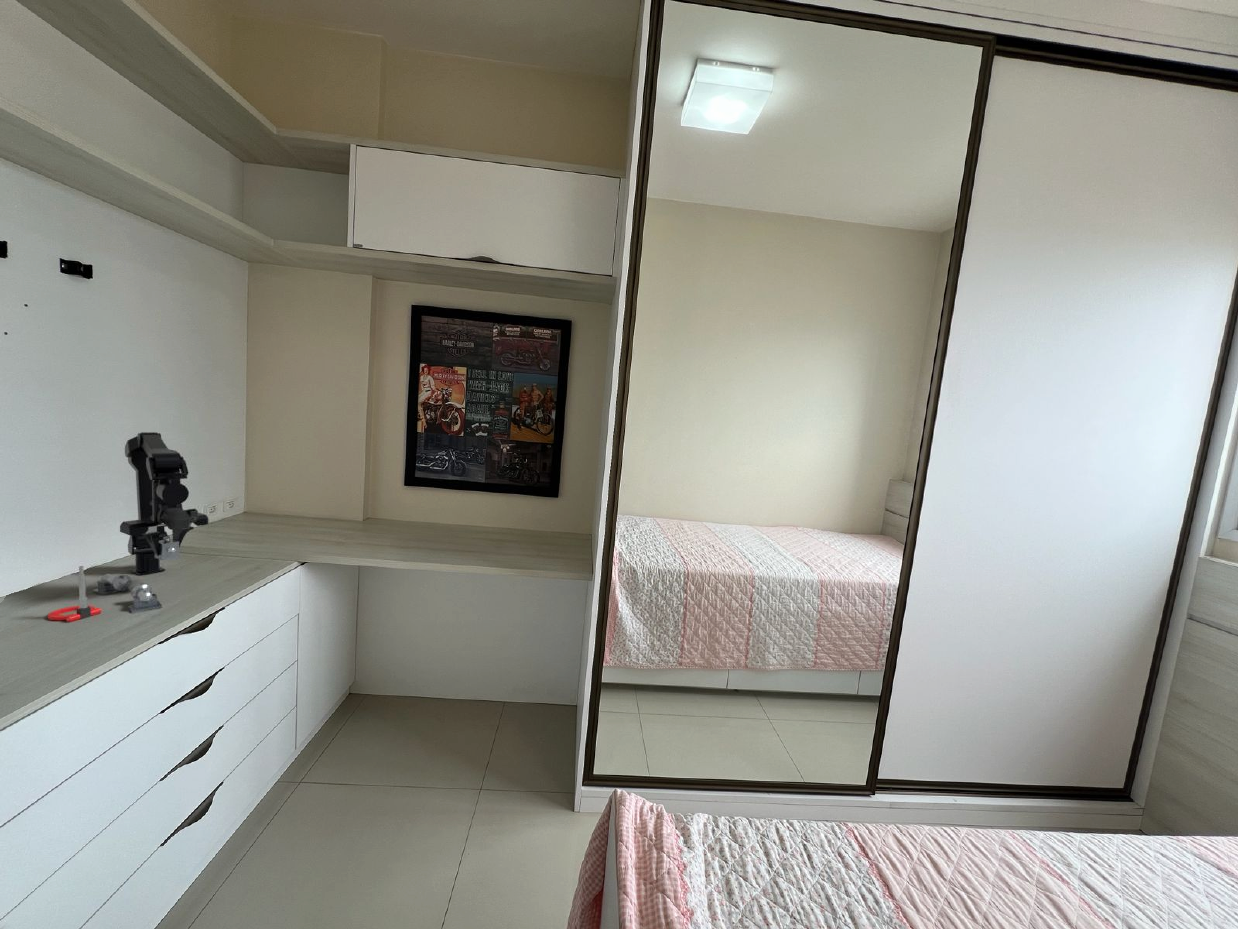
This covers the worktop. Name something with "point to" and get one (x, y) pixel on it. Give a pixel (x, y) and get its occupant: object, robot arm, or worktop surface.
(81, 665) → the worktop surface
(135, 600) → the shaft right
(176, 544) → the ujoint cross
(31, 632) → the worktop surface
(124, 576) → the shaft left
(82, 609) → the tow hook
